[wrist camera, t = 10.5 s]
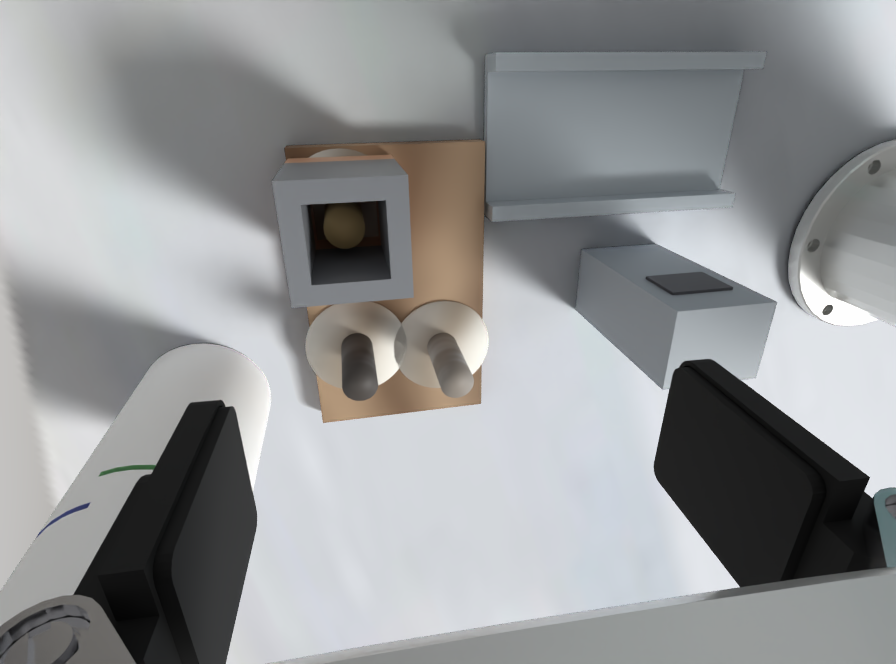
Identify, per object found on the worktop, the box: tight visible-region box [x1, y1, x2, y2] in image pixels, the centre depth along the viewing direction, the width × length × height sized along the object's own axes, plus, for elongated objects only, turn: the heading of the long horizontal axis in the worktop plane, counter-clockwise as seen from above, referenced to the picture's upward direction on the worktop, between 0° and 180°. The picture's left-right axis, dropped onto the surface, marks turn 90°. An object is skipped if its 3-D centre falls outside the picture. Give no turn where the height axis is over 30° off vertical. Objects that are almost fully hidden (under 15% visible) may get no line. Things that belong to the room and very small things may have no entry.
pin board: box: [284, 139, 489, 423], centre depth 28 cm, size 11×16×6 cm
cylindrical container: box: [0, 343, 271, 626], centre depth 20 cm, size 7×7×25 cm
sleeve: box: [272, 155, 414, 308], centre depth 23 cm, size 5×5×7 cm
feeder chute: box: [484, 51, 767, 222], centre depth 28 cm, size 14×8×2 cm, turn 90°
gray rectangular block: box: [575, 244, 777, 390], centre depth 28 cm, size 5×4×10 cm
